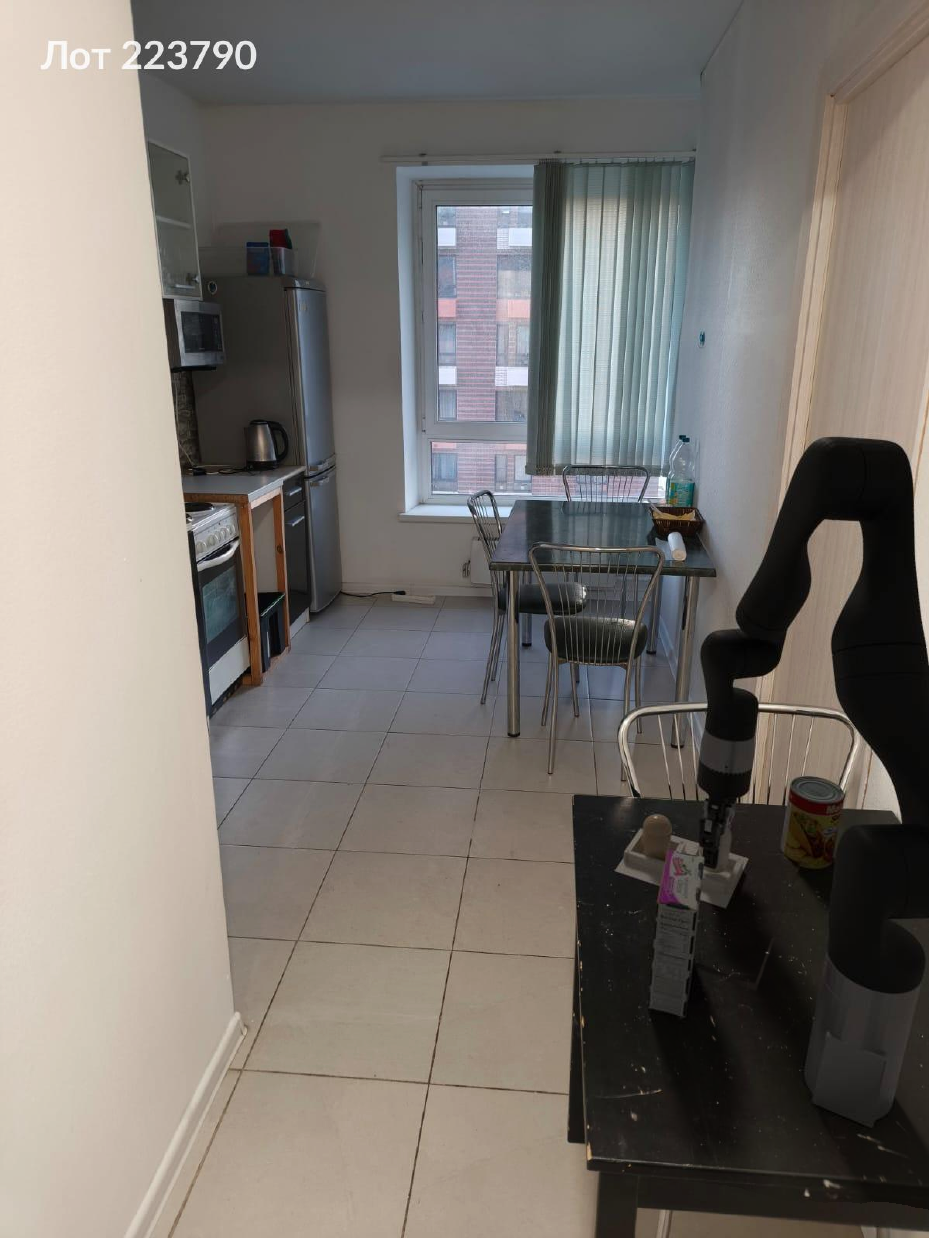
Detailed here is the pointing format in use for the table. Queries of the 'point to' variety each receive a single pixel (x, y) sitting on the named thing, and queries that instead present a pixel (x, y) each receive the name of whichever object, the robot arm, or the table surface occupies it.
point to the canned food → (812, 821)
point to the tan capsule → (656, 837)
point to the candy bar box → (675, 933)
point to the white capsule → (721, 853)
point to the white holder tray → (651, 870)
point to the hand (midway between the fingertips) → (713, 857)
